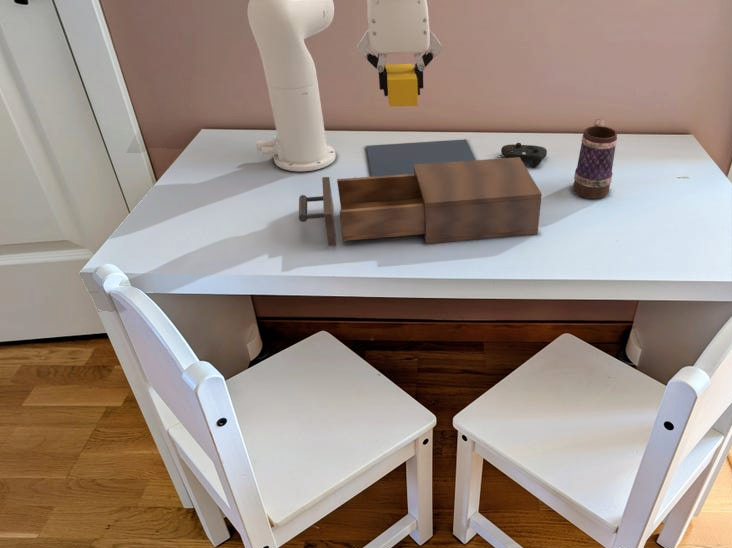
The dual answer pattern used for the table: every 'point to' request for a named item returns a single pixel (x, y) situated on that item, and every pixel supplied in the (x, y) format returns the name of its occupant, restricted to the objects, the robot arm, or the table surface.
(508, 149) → the game controller
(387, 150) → the mat
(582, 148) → the brown purple cylinder
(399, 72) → the sponge
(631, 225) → the table surface
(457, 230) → the cabinet
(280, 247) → the table surface
